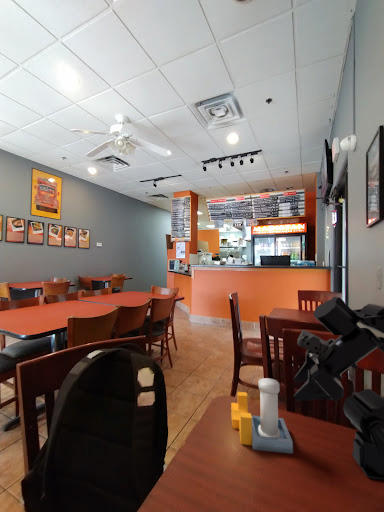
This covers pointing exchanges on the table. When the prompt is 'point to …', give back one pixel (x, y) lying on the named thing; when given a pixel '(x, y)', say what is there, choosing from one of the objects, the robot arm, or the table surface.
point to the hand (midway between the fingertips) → (294, 389)
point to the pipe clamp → (242, 419)
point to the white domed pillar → (268, 408)
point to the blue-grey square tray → (271, 438)
